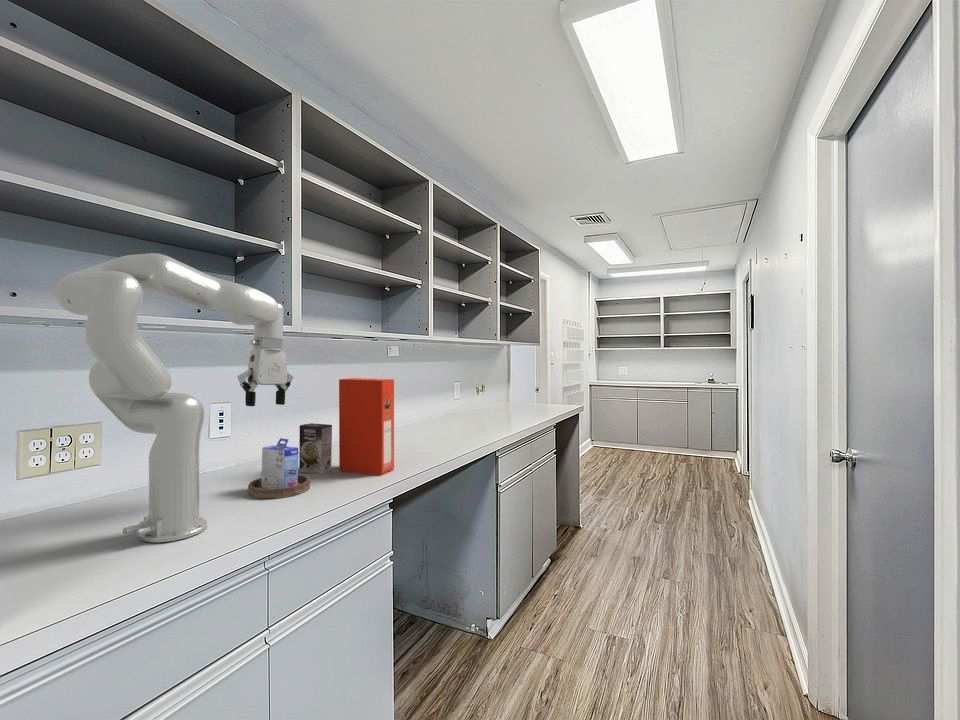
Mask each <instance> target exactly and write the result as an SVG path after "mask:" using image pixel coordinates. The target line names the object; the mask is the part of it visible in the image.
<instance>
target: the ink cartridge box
mask: <svg viewBox="0 0 960 720" xmlns="http://www.w3.org/2000/svg"><path fill="white" fill-rule="evenodd" d="M282 442H285V443H282ZM288 442H289V438H282V437H281V438H279V440H278V442H277V444H276V445H275V444H274V445H268V446H264V447H262V449H261V450H262V451H261V459H262V460H261V478H262V479H261V487H262V488H267V489H278V488H286V487H292V486H296V485H298V474H299V446H298V447H297V446H287V445H288Z"/></svg>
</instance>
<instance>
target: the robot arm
mask: <svg viewBox="0 0 960 720" xmlns="http://www.w3.org/2000/svg"><path fill="white" fill-rule="evenodd" d="M144 294H158V295H160V296H162V297H165V298H168V299H171V300H174V301H176V302H179V303H181V304H184V305H186V306H189V307H192V308H194V309H195V308H196V309H199V310H203V311H210V312H223V313H224V315H225V317H226V319H227V320H228V321H230V322H231V323H232V324H235V325H238V326H254V327H253V339H251V340H250V342H249V344H250V345H251V346H252V345H253V347H252V348H253V349H251V350H250V354H249V358H248V364H247V370H246V371H244V372H242V373H240V374H238V375H237V376H236V377H237V380H238V382H239V385H240V387H241V388H242V389H243V391H244V392H245V397H244V398H245V406H246V407H255V406H256V398H257V397H256V395H257V394H256V391H255V389H256V388H257V387H258V386H259V385H261V386H275V388H276V389H277V390H276V391H275V405H278V406H279V405H280V406H283V405H285V404H286V392H287V391H288V388H290V386H291V383H292V381H293V380H294V376H293V375H291V374H290V373H289V372H288V364H287V356H286V353H285V350H283V337H284V335H283V333H284V316H285V315H284V312H285V311H284V309H285V308H284V306H283V305H282V304H281V303H279V302H277V301H276V299H274V297H272V296H271V295H269V294H267V293H265V292H263V291H261V290H259V289H256V288H254V287H251V286H248V285H244V284H240V283H236V282H233V281H230V280H226V279H222V278H218V277H214V276H212V275H210V274H208V273H205V272H203V271H201V270H198V269H196V268H194V267H192V266H190V265H188V264H185V263H183V262H181V261H179V260H177V259H175V258H172V256H168V255H166V254H162V253H156V252H154V253H153V252H152V253H151V252H150V253H142V254H141V253H139V254H137V253H136V254H129V255H124V256H120V257H119V256H118V257H116V258H114V259H113V258H112V259H111V260H107V261H104V262H102V263H99V264H98V263H97V264H95V265H93V266H90V267H87V268H83V269H81V270H77V271H74V272H72V273H69V274H67V275H65V276H64V277H62V278H61V279H60V280H59V281H58V282H57V285H55V289H54V296H55V299H56V301H57V303H58V305H60V306H61V307H62V308H63V309H64V310H66V311H67V312H69V313H71V314H73V315H74V314H75V315H79V316H87V318H86V319H87V320H86V325H85V331H84V333H85V334H84V335H85V337H84V338H85V341H86V345H87V347H88V349H89V350H90V352H91V353H92V355H93V356H94V357H95V358H96V360H97V361H96V362H95V363H94V364H93V365H92V367H91V368H90V370H89V373H88V383H89V387H90V389H91V391H92V393H93V394H94V395H95V397H97V398H98V400H99V402H101V403H102V405H104V406H105V407H106V408H107V410H109V411H110V412H111V414H112V415H113V416H114V417H115V418H116V419H118V421H119V422H120V423H122V425H123V426H125V427H126V428H127V429H129V430H131V431H133V432H136V433H140V434H152V435H155V439H154V440H153V443H152V444H151V446H150V450H149V453H148V515H145V516H143V520H142V521H140V522H139V523H138V524H136V525H134V524H133V525H129V526H126V527H123V528H122V535H123V536H124V537H125V538H127V537H130V536H133V535H136V536H137V537H138V536H139V537H140V540H141V541H144V542H147V543H156V544H157V543H168V542H175V541H179V540H184V539H187V538H190V537H193V536H195V535H198V534H201V533H202V532H204V530H205V529H207V528H208V520H206V519H205V518H203V517H200V441H201V434H202V429H203V425H204V420H205V408H204V406H203V403H202V402H201V401H200V400H199V399H198V398H197V397H195V396H193V395H191V394H187V393H183V392H169V390H170V389H171V386H172V377H171V373H170V372H169V371H168V369H167V367H166V366H165V365H164V363H163V362H162V361H161V360H160V359H159V357H158V356H157V355H156V353H155V352H154V351H153V350H152V349H151V347H150V346H149V344H148V343H147V342H146V340H145V339H144V337H143V336H142V335H141V333H140V331H139V328H138V315H139V311H140V309H141V306H142V303H143V300H144V299H143V298H144Z"/></svg>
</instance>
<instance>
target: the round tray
mask: <svg viewBox="0 0 960 720" xmlns="http://www.w3.org/2000/svg"><path fill="white" fill-rule="evenodd" d="M261 479H262V477H259V478H256V479H253V480H252V481H250V482H249V483H248V486H247V488H248V490H247V491H248V495H249V496H250V497H251V498H255V499H260V500H262V499H263V500H274V499H275V500H276V499H284V498H290V497H294V496H298V495H302V494H304V493H306V492H307V491H309V490H310V489H311V487H310V486H311V477H310V476H308V475H305V474H300V473H298V485H296V486H292V487H286V488H278V489H267V488H262V487H261Z"/></svg>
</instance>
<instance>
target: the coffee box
mask: <svg viewBox="0 0 960 720" xmlns="http://www.w3.org/2000/svg"><path fill="white" fill-rule="evenodd" d="M298 444H299V446H298V473H299V472H301V473H309V474H316V475H318V474H319V475H321V474H324V473H327V472H329V471H332V452H333V451H332V448H333V447H332V444H333V425H332V424H328V423H327V424H326V423H325V424H323V423H312V422H311V423H304V424H300V425H299V443H298Z"/></svg>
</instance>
